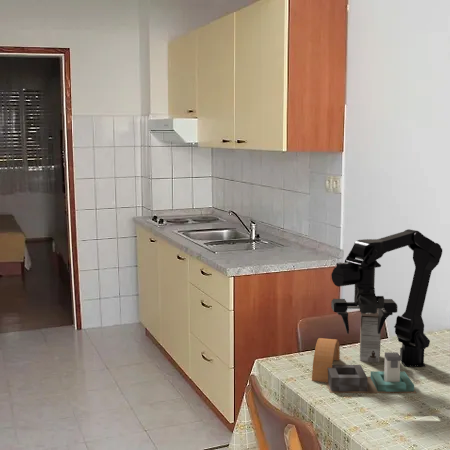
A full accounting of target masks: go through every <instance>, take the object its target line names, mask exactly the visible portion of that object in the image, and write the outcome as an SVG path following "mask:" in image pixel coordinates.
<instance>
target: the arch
mask: <svg viewBox="0 0 450 450" xmlns="http://www.w3.org/2000/svg"><path fill="white" fill-rule="evenodd" d="M340 349H341V347H340V342H339V340H338V339H335V338H322V337H319V338H318V339H317V341H316V344H315V348H314V353H313V361H312V370H311V372H312V373H311V374H312V375H311V381H313V382H323V383H326V382H328V368H332V365H334V364H333V363H334V361H340V360H341V359H340V358H341V353H340V352H341V351H340Z"/></svg>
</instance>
